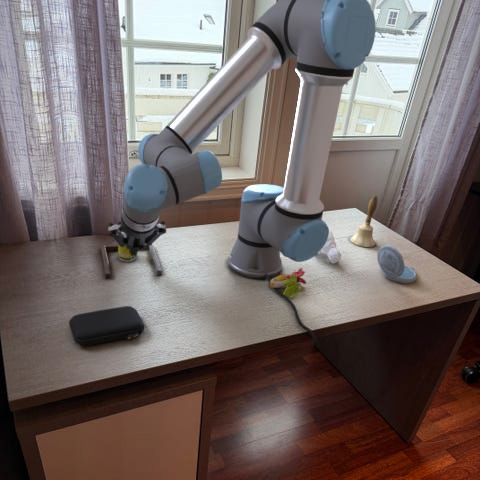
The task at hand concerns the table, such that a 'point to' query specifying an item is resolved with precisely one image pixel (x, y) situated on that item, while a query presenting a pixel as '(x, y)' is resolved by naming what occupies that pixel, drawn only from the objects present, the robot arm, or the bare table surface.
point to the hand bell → (366, 228)
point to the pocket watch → (394, 265)
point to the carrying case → (106, 325)
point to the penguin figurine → (331, 249)
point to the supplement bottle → (125, 253)
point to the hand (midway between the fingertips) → (133, 250)
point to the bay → (150, 247)
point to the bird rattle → (289, 283)
